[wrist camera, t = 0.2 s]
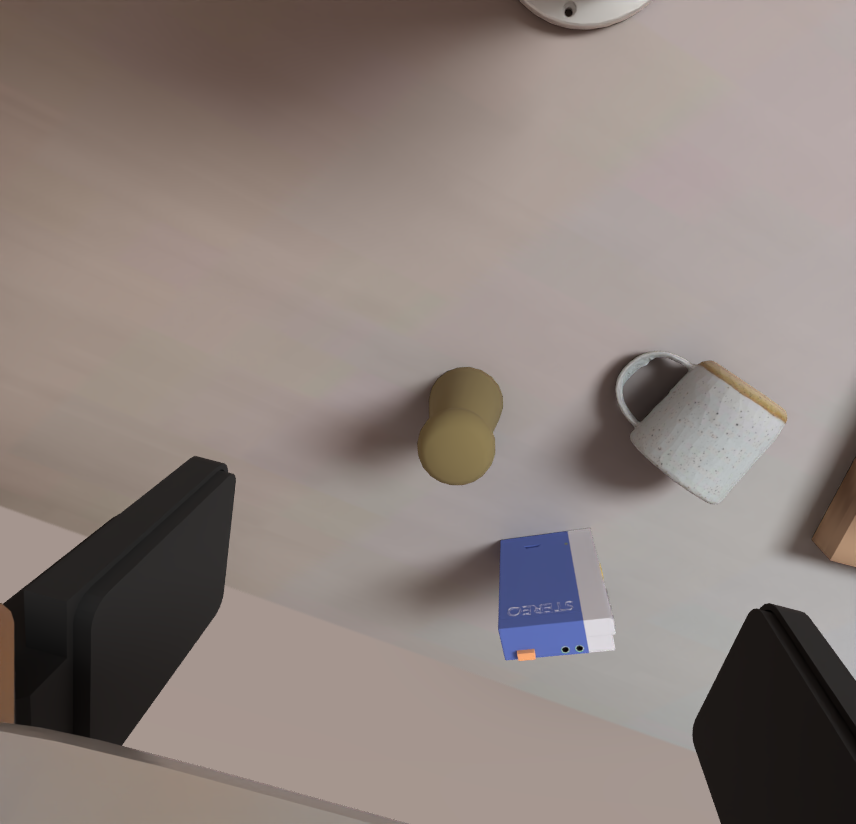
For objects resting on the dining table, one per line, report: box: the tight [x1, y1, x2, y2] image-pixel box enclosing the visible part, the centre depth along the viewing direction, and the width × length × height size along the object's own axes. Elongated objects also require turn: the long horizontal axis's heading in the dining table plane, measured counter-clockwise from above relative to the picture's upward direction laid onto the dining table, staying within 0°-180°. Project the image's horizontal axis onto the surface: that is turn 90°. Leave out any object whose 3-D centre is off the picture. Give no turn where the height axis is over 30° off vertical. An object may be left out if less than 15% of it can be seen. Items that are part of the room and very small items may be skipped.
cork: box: [417, 367, 503, 485], centre depth 43 cm, size 6×6×11 cm
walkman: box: [498, 528, 616, 661], centre depth 46 cm, size 8×3×12 cm, turn 103°
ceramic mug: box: [615, 351, 787, 504], centre depth 42 cm, size 11×8×8 cm
